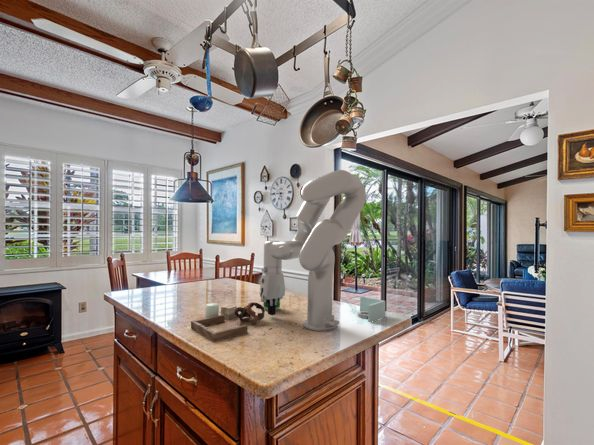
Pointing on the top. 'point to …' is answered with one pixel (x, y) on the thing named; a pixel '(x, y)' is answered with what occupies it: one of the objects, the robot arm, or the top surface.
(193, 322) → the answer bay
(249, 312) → the pottery mug
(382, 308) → the l-shaped corner panel
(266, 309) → the soda can
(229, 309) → the birch block
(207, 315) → the pale green capsule
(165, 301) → the top surface
